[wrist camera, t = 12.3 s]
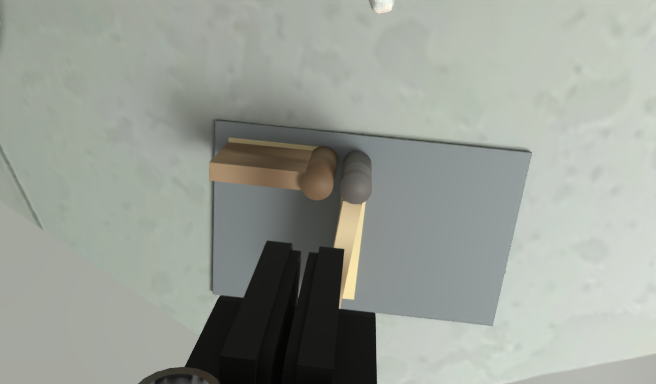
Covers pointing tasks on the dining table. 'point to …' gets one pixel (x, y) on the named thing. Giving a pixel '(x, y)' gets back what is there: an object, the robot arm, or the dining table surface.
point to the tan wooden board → (351, 204)
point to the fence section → (277, 168)
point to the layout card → (383, 222)
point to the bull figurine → (381, 5)
